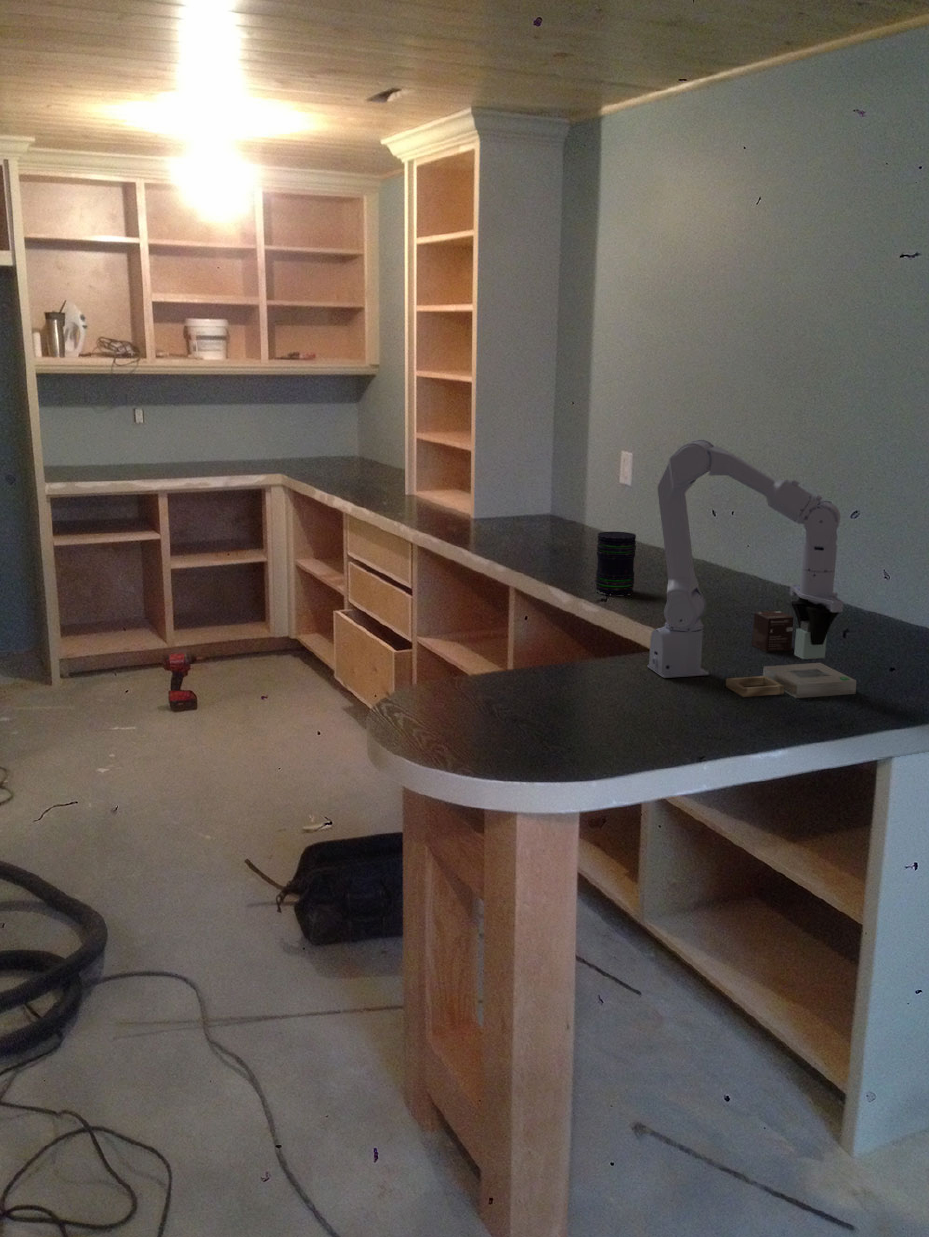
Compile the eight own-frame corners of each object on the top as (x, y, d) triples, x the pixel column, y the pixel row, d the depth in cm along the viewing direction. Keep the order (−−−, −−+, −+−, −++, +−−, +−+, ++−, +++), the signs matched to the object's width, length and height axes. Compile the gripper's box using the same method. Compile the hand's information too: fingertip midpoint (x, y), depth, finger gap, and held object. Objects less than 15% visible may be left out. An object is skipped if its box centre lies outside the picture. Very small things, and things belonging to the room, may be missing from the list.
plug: (802, 659, 202) (805, 624, 200) (794, 654, 205) (797, 620, 203) (824, 657, 203) (827, 623, 201) (815, 653, 206) (818, 619, 204)
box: (765, 653, 228) (768, 618, 226) (750, 645, 233) (753, 611, 232) (791, 651, 229) (794, 616, 228) (776, 643, 235) (779, 610, 233)
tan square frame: (742, 696, 199) (743, 688, 198) (725, 686, 205) (726, 678, 204) (783, 694, 200) (784, 686, 200) (765, 683, 207) (765, 675, 206)
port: (796, 698, 198) (797, 683, 198) (762, 679, 209) (763, 665, 209) (855, 693, 201) (856, 679, 200) (819, 675, 212) (820, 661, 212)
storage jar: (641, 594, 280) (643, 536, 277) (606, 597, 277) (609, 538, 273) (621, 587, 289) (624, 530, 286) (588, 589, 286) (590, 532, 282)
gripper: (861, 576, 194) (853, 650, 197) (816, 561, 208) (810, 631, 211) (825, 577, 192) (818, 653, 196) (782, 562, 206) (776, 633, 209)
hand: (812, 641), depth 203 cm, fingers closed on plug, 3 cm apart
